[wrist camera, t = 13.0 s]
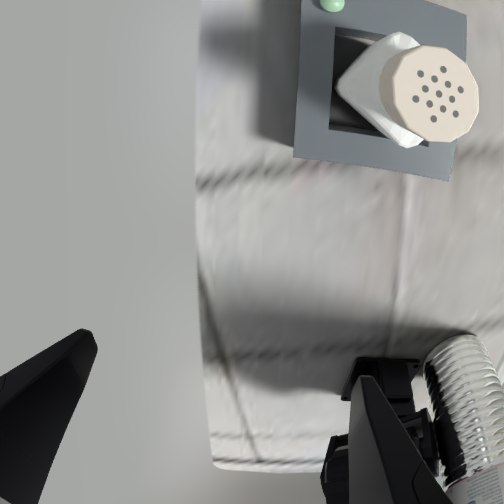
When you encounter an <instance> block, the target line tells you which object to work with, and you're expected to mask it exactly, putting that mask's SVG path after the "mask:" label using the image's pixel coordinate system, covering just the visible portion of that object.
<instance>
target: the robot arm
mask: <svg viewBox="0 0 504 504" xmlns="http://www.w3.org/2000/svg"><path fill="white" fill-rule="evenodd" d="M97 350H98V348H97V344H96V342H95V339H94V337H93V334H92V332H91V331H89V330H86V329H79V330H77V331H75V332H74V333H72V334H70V335H69V336H67V337H65V338H64V339H62V340H60V341H58V342H57V343H55V344H54V345H52V346H50V347H48V348H47V349H45V350H43V351H42V352H40V353H38V354H37V355H35V356H34V357H32V358H30V359H28V360H27V361H25V362H24V363H22V364H20V365H19V366H17V367H15V368H14V369H12V370H10V371H9V372H8V373H6V374H4V375H2V376H0V504H38V502H39V499H40V496H41V493H42V490H43V487H44V485H45V482H46V479H47V476H48V474H49V471H50V468H51V465H52V463H53V460H54V458H55V455H56V453H57V450H58V448H59V445H60V443H61V440H62V438H63V436H64V433H65V431H66V428H67V426H68V424H69V422H70V419H71V417H72V415H73V412H74V410H75V408H76V406H77V403H78V401H79V399H80V397H81V395H82V392H83V390H84V388H85V385H86V383H87V380H88V377H89V374H90V371H91V368H92V365H93V363H94V360H95V357H96V354H97ZM360 362H361V363H360ZM420 366H421V364H420V361H419V360H413V359H385V358H366V357H359V358H357V359H356V360H355V362H354V364H353V367H352V369H351V372H350V374H349V377H348V379H347V382H346V384H345V386H344V389H343V391H342V393H341V400H342V401H351V408H350V422H349V433H348V434H344V435H340V436H337V435H336V436H332V437H331V439H330V443H329V446H328V450H327V454H326V457H325V461H324V465H323V469H322V472H321V476H320V479H321V485H322V489H323V493H324V495H325V497H326V503H327V504H453V502H452V501H451V500H450V498H449V497H448V496H447V495H446V493H445V492H444V491H443V489H442V488H441V486H440V485H439V484H438V483H437V481H436V479H435V477H438V476H439V453H438V450H437V442H436V435H435V432H434V425H433V422H432V420H431V417H430V415H429V412H428V410H427V408H423V409H421V410H420V411H418V412H416V411H415V405H414V400H413V392H412V387H411V381H412V380H413V378H414V376H415V375H416V373H417V371H418V370H419V368H420Z"/></svg>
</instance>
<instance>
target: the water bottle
mask: <svg viewBox="0 0 504 504" xmlns="http://www.w3.org/2000/svg"><path fill="white" fill-rule="evenodd" d="M423 377H424V383H425V386H426V392H427V396H428V400H429V406H430V409H431V415H432V420H433V425H434V432H435V435H436V442H437V450H438V453H439V461H440V470H441V479H442V481H443V483H442V488H443V491H444V492H445V493H446V495H447V496H448V497H449V498H450V500H451V501H452V502H453V504H504V390H503V388H502V386H501V382H500V380H499V378H498V375H497V372H496V370H495V367H494V365H493V363H492V360H491V358H490V356H489V353H488V351H487V349H486V347H485V345H484V344H483V342H482V341H481V340H480V339H479V338H478V337H476V336H474V335H470V334H463V335H457V336H454V337H451V338H449V339H447V340H445V341H443V342H442V343H440V344H439V345H437V346H436V347H435V348H434V349H433V350H432V351H431V352H430V353H429V354H428V356H427V357H426V359H425V362H424V365H423Z"/></svg>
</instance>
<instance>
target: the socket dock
mask: <svg viewBox="0 0 504 504" xmlns="http://www.w3.org/2000/svg"><path fill="white" fill-rule="evenodd" d="M395 32H401V33H404V34H406V35H409V36H411V37H412V38H413V39H414V40H415V41H417V42H418V43H419V44H420V45H427V46H435V47H443V48H446V49H448V50H449V51H451V52H452V53H453V54H455V55H456V56H457V57H459V58H460V59H461V60H462V61H464V62H465V63H466V37H467V19H466V15H465V14H462V13H460V12H457V11H454V10H451V9H449V8H446V7H443V6H440V5H437V4H434V3H431V2H428V1H424V0H301V29H300V52H299V72H298V90H297V106H296V122H295V136H294V150H293V158H303V159H312V160H321V161H329V162H337V163H345V164H352V165H359V166H366V167H372V168H379V169H385V170H391V171H396V172H402V173H408V174H413V175H418V176H423V177H429V178H433V179H438V180H443V181H448V182H449V177H450V173H451V168H452V163H453V158H454V153H455V147H456V142H457V139H455V140H453V141H452V142H433V141H426V140H423V141H421V142H420V143H419V144H418V145H416V146H413V147H410V148H404V147H402V146H400V145H398V144H396V143H395V142H394V141H392V140H391V139H390V138H388V137H387V136H385V135H384V134H383V133H381V132H378V131H372V130H366V129H359V128H353V127H346V126H338V125H331V124H329V116H330V104H331V91H332V77H333V60H334V41H335V34H337V35H344V36H351V37H357V38H363V39H369V40H374V41H379V40H380V39H382V38H384V37H386V36H388V35H390V34H392V33H395Z"/></svg>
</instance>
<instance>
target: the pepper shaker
mask: <svg viewBox="0 0 504 504" xmlns="http://www.w3.org/2000/svg"><path fill="white" fill-rule="evenodd" d="M334 88H335V90H336V92H337V94H338V95H339V96H340V97H341V98H342V99H344V100H345V101H346V102H347V103H348V104H349V105H350V106H351V107H353V108H354V109H355V110H356V111H357V112H358V113H359V114H360V115H361V116H362V117H363V118H365V119H366V120H367V121H368V122H369V123H370V124H371V125H372V126H373V127H374V128H375V129H377V130H378V131H380V132H381V133H383V134H384V135H385V136H387V137H388V138H390V139H391V140H392V141H394V142H395V143H396V144H398V145H400V146H402V147H404V148H410V147H413V146H416V145H418V144H419V143H420V142H421V141H423V140H426V141H433V142H452V141H453V140H455V139H457V138H458V137H460V136H462V135H463V134H465V133H467V132H468V131H469V130H470V128H471V126H472V124H473V122H474V120H475V118H476V116H477V114H478V112H479V97H478V85H477V83H476V81H475V79H474V77H473V75H472V73H471V72H470V70H469V68H468V66H467V64H466V63H465V62H464V61H462V60H461V59H460V58H459V57H457V56H456V55H455V54H453V53H452V52H451V51H449V50H448V49H446V48H443V47H435V46H427V45H420V44H419V43H418V42H417V41H415V40H414V39H413V38H412V37H411V36H409V35H406V34H404V33H401V32H395V33H392V34H390V35H388V36H386V37H384V38H382V39H380V40H379V41H377V42H375V43H373V44H371V45H370V46H368V47H367V48H366V49H365V50H364V51H363V52H362V53H361V54H360V55H359V56H358V57H357V58H356V59H355V60H354V61H353V62H352V63H351V65H350V66H349V67H348V68H347V69H346V70H345V71H344V72H343V73H342V74H341V75H340V76H339V78H338V79H337V80H336V82H335V85H334Z"/></svg>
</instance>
